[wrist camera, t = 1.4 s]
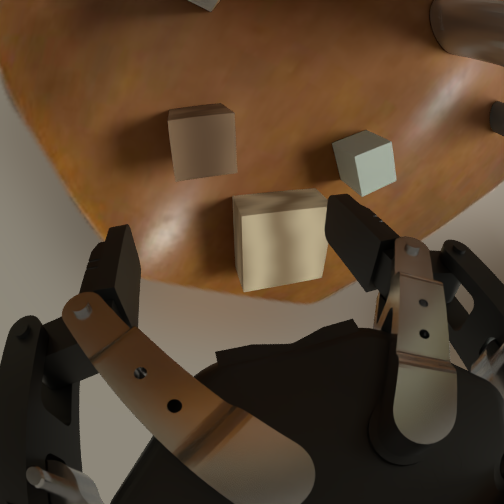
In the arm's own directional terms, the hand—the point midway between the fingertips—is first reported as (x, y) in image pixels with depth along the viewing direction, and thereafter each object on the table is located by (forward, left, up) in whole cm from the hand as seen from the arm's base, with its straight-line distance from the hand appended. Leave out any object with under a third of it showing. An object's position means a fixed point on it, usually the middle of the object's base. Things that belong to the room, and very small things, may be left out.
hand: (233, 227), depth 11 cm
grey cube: (-18, +4, -19) cm, 27 cm away
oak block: (-8, +13, -20) cm, 25 cm away
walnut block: (0, 0, -19) cm, 19 cm away
